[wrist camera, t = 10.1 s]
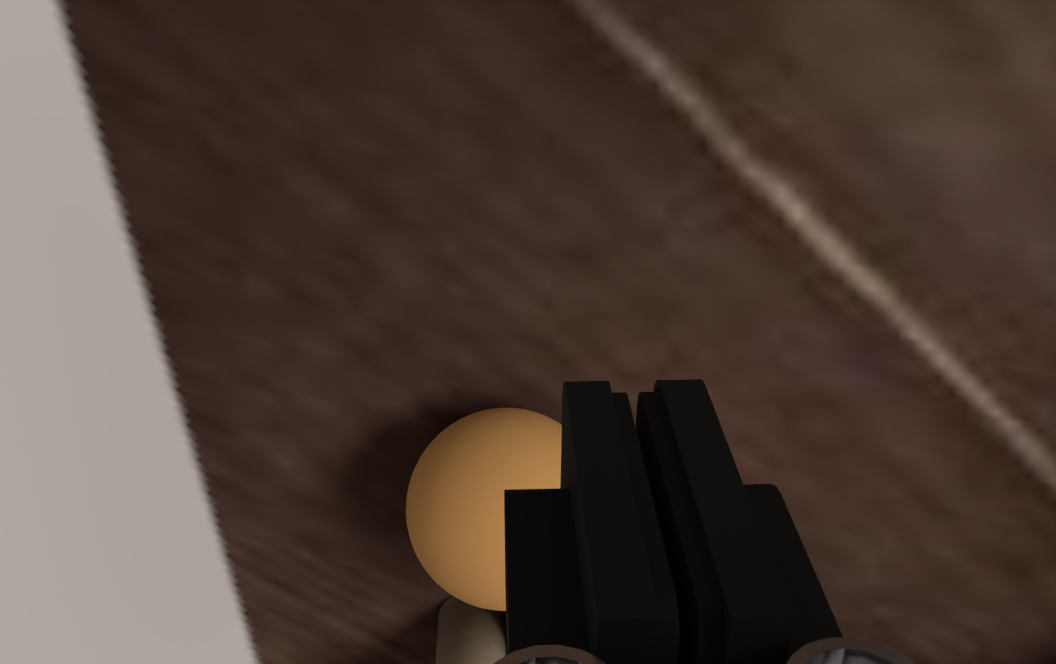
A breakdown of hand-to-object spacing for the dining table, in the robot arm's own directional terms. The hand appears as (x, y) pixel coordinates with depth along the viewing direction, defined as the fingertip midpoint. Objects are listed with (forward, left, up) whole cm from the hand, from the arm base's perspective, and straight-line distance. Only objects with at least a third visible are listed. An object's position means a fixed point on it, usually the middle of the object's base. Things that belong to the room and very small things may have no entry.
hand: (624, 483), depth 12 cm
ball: (+11, -1, -14) cm, 18 cm away
